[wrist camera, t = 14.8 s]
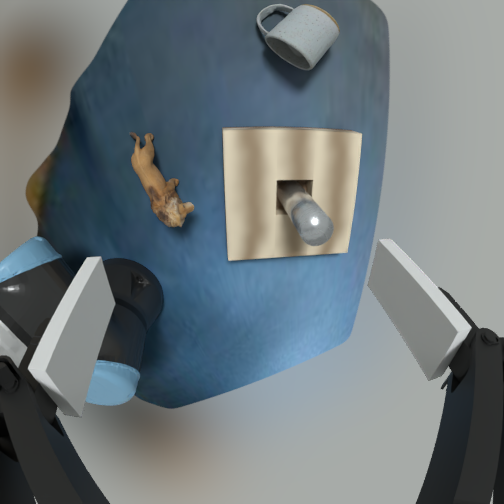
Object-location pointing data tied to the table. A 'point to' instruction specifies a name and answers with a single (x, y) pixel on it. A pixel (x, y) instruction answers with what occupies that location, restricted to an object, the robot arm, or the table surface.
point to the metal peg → (305, 213)
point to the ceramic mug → (300, 34)
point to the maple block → (277, 170)
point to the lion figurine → (158, 185)
